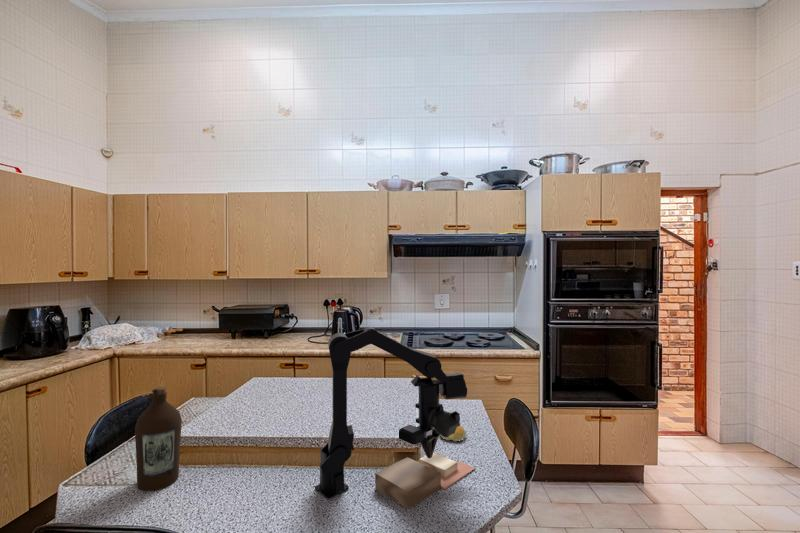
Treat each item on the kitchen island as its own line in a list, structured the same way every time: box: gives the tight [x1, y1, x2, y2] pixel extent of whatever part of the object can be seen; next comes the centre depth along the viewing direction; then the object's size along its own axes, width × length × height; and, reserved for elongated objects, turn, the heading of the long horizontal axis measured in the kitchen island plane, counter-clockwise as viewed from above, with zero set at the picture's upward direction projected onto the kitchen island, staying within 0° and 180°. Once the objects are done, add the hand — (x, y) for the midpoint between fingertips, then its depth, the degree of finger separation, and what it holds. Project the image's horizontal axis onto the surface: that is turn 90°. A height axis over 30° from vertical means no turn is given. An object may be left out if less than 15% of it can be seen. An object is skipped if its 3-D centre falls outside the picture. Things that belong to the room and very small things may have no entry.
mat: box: [441, 460, 476, 490], centre depth 106 cm, size 14×14×1 cm
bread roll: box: [440, 425, 467, 441], centre depth 127 cm, size 8×9×4 cm
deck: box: [374, 457, 442, 510], centre depth 97 cm, size 12×12×4 cm
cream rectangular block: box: [419, 451, 458, 477], centre depth 106 cm, size 9×6×2 cm, turn 47°
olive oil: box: [134, 386, 183, 492], centre depth 101 cm, size 11×11×25 cm
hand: (429, 457), depth 103 cm, fingers closed
